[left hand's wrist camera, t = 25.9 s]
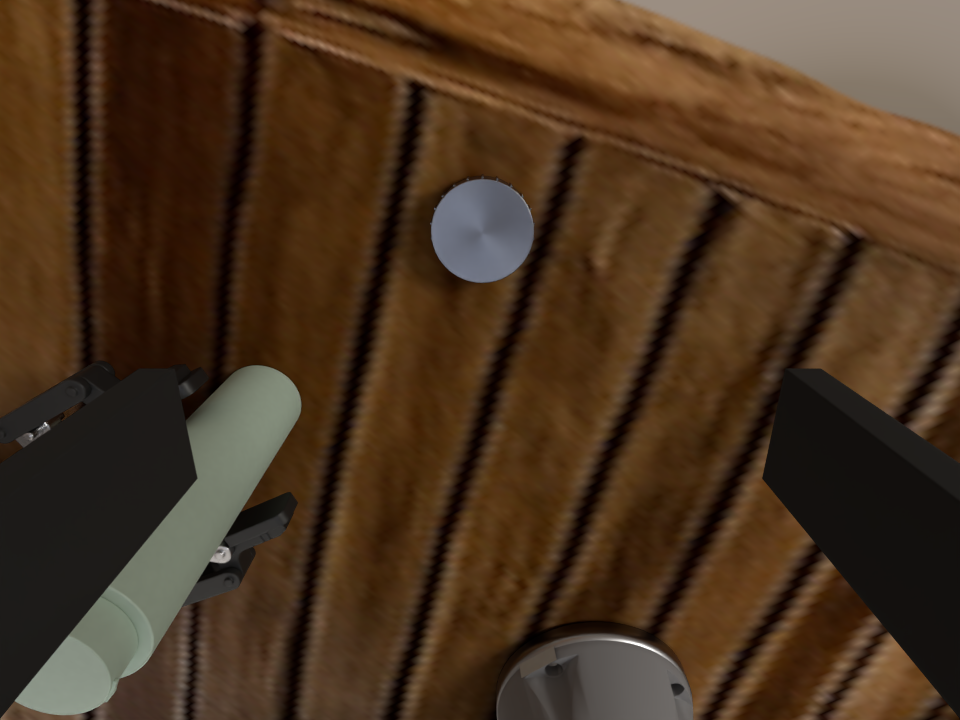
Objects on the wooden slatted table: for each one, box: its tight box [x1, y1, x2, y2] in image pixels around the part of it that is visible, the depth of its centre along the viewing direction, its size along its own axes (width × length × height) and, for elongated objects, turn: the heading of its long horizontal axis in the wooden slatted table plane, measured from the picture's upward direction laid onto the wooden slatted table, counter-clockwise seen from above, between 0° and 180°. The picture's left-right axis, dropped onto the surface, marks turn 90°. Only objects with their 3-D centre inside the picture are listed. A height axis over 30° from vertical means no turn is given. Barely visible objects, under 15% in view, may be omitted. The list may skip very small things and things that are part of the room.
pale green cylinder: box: [15, 365, 301, 715], centre depth 28 cm, size 5×5×20 cm
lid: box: [430, 174, 534, 283], centre depth 32 cm, size 6×6×2 cm
